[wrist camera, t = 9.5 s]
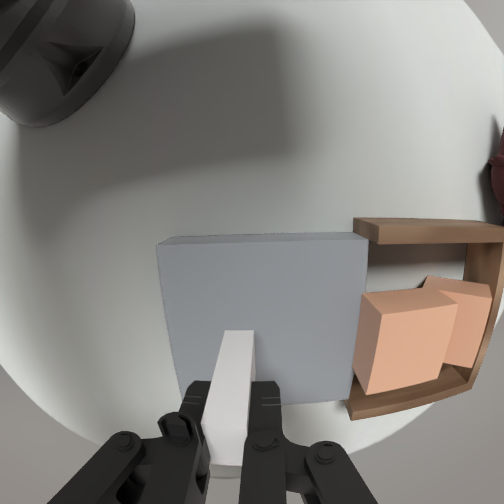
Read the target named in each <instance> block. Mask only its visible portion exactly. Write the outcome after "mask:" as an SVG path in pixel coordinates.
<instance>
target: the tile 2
mask: <svg viewBox="0 0 504 504" xmlns="http://www.w3.org/2000/svg"><path fill="white" fill-rule="evenodd" d="M424 287H433V288H435V289H437V290H438V291H440V292H441V293H443V294H445V295H446V296H448V297H449V298H451V299H452V300H454V301H455V302H457V303H458V308H457V313H456V317H455V321H454V325H453V329H452V333H451V337H450V340H449V344H448V347H447V351H446V354H445V357H444V360H443V363H447V364H452V365H457V366H463V367H468V368H472V366H473V363H474V360H475V357H476V355H477V352H478V349H479V346H480V343H481V339H482V336H483V333H484V329H485V326H486V322H487V318H488V315H489V311H490V306H491V302H492V296H491V292H490V288H489V285H487V284H480V283H474V282H467V281H461V280H454V279H447V278H441V277H434V276H427V279H426V281H425V283H424V285H423V288H424Z"/></svg>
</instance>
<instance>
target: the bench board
mask: <svg viewBox="0 0 504 504" xmlns="http://www.w3.org/2000/svg"><path fill="white" fill-rule="evenodd" d="M368 244H369V240H368V239H366V238H364V237H362V236H360V235H358V234H356V233H354V232H333V233H282V234H245V235H214V236H188V237H171V238H169V239H167V240H165V241H164V242H162V243H160V244H158V245H156V249H157V258H158V267H159V275H160V283H161V291H162V298H163V304H164V311H165V317H166V323H167V329H168V335H169V340H170V346H171V351H172V356H173V361H174V366H175V370H176V375H177V379H178V384H179V388H180V392H181V396H182V401H183V398H184V397H185V393H186V390H187V387H188V386H189V385H190V384H191V383H192V382H193V381H194V380H199V381H212V378H213V374H214V370H215V367H216V363H217V359H218V355H219V351H220V348H221V344H222V340H223V336H224V332H225V330H254V344H255V367H256V375H255V381H275V382H276V384H277V385H278V386H279V388H280V399H281V405H286V404H304V403H317V402H328V401H337V400H345V399H349V395H350V390H351V385H352V380H353V375H354V370H353V368H352V364H353V358H354V351H355V345H356V338H357V331H358V323H359V314H360V305H361V295H362V293H365V289H366V277H367V263H368Z"/></svg>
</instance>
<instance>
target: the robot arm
mask: <svg viewBox="0 0 504 504" xmlns="http://www.w3.org/2000/svg"><path fill="white" fill-rule="evenodd" d="M134 18H135V16H134V9H133V6H132V4H131V2H130V1H129V0H0V111H1V112H2V113H4V114H5V115H6V116H7V117H8V118H10V119H11V120H12V121H14V122H16V123H19V124H23V125H29V126H34V127H44V126H49V125H52V124H54V123H57V122H59V121H61V120H63V119H64V118H66V117H67V116H69V115H70V114H72V113H73V112H74V111H76V110H77V109H78V108H79V107H81V106H82V105H83V104H84V103H85V102H86V101H87V100H88V99H89V98H90V97H91V96H92V95H93V94H94V93H95V92H96V91H97V90H98V89H99V87H100V86H101V85H102V84H103V83H104V81H105V80H106V79H107V78H108V76H109V75H110V74H111V72H112V71H113V69H114V68H115V66H116V65H117V63H118V62H119V60H120V58H121V57H122V55H123V53H124V51H125V49H126V47H127V45H128V42H129V40H130V37H131V34H132V31H133V26H134ZM255 375H256V367H255V344H254V330H225V332H224V336H223V340H222V344H221V348H220V351H219V355H218V359H217V363H216V367H215V370H214V374H213V378H212V381H199V380H194V381H193V382H192V383H191V384H190V385H189V386H188V387H187V390H186V393H185V397H184V398H183V401H182V404H181V407H180V410H179V412H171V413H168V414H165V415H164V416H162V417H161V418H160V419H159V421H158V422H157V423H158V425H159V428H160V430H161V433H162V435H163V436H162V437H158V438H150V439H140V437H139V436H138V435H137V434H135V433H133V432H129V431H121V432H118V433H116V434H114V435H113V436H111V437H110V438H109V440H108V441H107V442H106V443H105V444H104V445H103V446H102V447H101V448H100V449H99V450H98V451H97V452H96V453H95V454H94V455H93V457H92V458H91V459H90V460H89V461H88V462H87V463H86V464H85V465H84V466H83V467H82V468H81V469H80V470H79V471H78V472H77V473H76V474H75V475H74V477H73V478H71V479H70V481H69V482H68V483H67V484H66V485H65V486H64V487H63V488H62V489H61V490H60V491H59V492H58V493H57V494H56V495H55V496H54V497H53V498H52V499H51V500H50V501H49V502H48V503H47V504H205V501H206V495H207V489H208V484H209V478H210V470H209V462H210V460H211V463H212V464H216V465H232V466H242V472H241V484H240V494H239V504H286V491H291V492H296V493H300V495H301V497H302V499H303V502H304V504H378V503H377V501H376V500H375V498H374V497H373V495H372V494H371V492H370V490H369V489H368V487H367V485H366V484H365V482H364V481H363V479H362V477H361V476H360V474H359V473H358V471H357V469H356V468H355V466H354V465H353V463H352V461H351V460H350V458H349V457H348V455H347V453H346V452H345V450H344V449H343V448H342V447H341V446H340V445H339V444H337V443H335V442H331V441H321V442H317V443H315V444H313V445H311V446H310V447H307V446H302V445H297V444H294V443H292V442H290V441H289V440H288V439H286V438H285V436H284V434H283V431H282V416H281V399H280V388H279V386H278V385H277V384H276V382H275V381H255Z"/></svg>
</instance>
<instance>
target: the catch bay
mask: <svg viewBox="0 0 504 504" xmlns="http://www.w3.org/2000/svg"><path fill="white" fill-rule="evenodd" d="M353 232H354V233H356V234H358V235H360V236H362V237H364V238H366V239H368V240H370V241H372V242H374V243H376V244H428V243H468V244H467V254H466V262H465V270H464V277H463V281H467V282H474V283H480V284H487V285H489V288H490V292H491V296H492V302H491V306H490V311H489V315H488V318H487V322H486V326H485V329H484V333H483V336H482V339H481V343H480V346H479V349H478V352H477V355H476V357H475V360H474V363H473V366H472V368H468V367H463V366H457V365H452V364H447V363H442V367H441V369H440V372H439V375H438V378H437V379H434V380H430V381H426V382H423V383H419V384H415V385H411V386H407V387H403V388H399V389H394V390H390V391H385V392H380V393H375V394H369V395H366V394H365V392H364V390H363V388H362V386H361V384H360V382H359V380H358V378H357V376H356V375H353V380H352V385H351V390H350V395H349V399H345V400H344V402H345V405H346V408H347V411H348V414H349V417H350V420H351V421H353V420H359V419H365V418H370V417H376V416H381V415H386V414H390V413H395V412H399V411H403V410H407V409H411V408H415V407H419V406H422V405H426V404H429V403H432V402H436V401H439V400H442V399H445V398H448V397H451V396H454V395H457V394H459V393H462V392H465V391H467V390H470V389H472V386H473V384H474V382H475V379H476V377H477V374H478V372H479V369H480V367H481V364H482V361H483V359H484V356H485V353H486V350H487V348H488V344H489V341H490V338H491V335H492V332H493V328H494V325H495V321H496V318H497V314H498V310H499V306H500V302H501V297H502V293H503V288H504V227H503V226H499V225H494V224H490V223H485V222H481V221H474V220H451V219H418V218H354V229H353Z"/></svg>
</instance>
